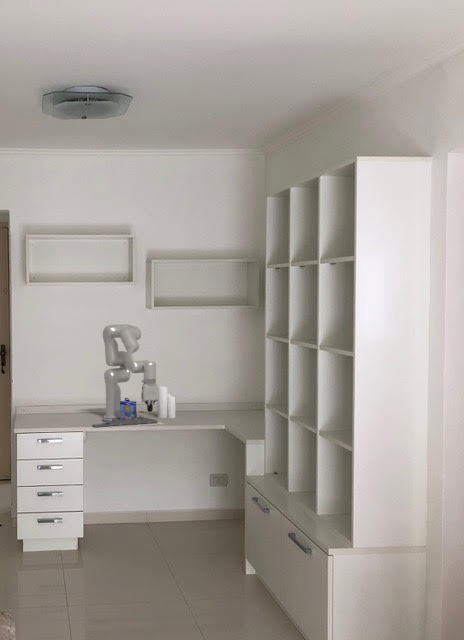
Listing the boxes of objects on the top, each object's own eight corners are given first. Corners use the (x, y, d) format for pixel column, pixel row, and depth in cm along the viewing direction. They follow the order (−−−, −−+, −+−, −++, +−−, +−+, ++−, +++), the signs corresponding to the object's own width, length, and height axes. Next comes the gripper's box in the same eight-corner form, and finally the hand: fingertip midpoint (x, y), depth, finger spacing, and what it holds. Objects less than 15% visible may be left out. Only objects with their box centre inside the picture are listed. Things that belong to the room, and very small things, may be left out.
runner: (104, 425, 576) (104, 424, 576) (157, 421, 591) (157, 421, 591) (110, 428, 565) (110, 427, 565) (165, 424, 580) (165, 423, 580)
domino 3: (129, 425, 574) (114, 422, 570) (126, 424, 578) (111, 420, 574) (130, 422, 574) (115, 419, 570) (127, 421, 579) (112, 418, 574)
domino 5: (148, 424, 579) (133, 420, 575) (145, 422, 584) (130, 419, 579) (149, 421, 579) (134, 418, 575) (146, 420, 584) (131, 417, 580)
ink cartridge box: (119, 420, 598) (119, 397, 598) (125, 419, 603) (125, 396, 602) (130, 421, 592) (130, 398, 592) (136, 420, 596) (136, 397, 596)
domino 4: (139, 424, 577) (124, 421, 572) (136, 423, 581) (121, 420, 577) (139, 422, 577) (124, 418, 572) (136, 421, 581) (121, 417, 577)
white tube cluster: (157, 418, 605) (157, 387, 604) (157, 417, 612) (157, 386, 611) (175, 418, 606) (175, 387, 605) (175, 416, 613) (175, 386, 612)
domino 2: (119, 426, 571) (104, 422, 567) (116, 424, 576) (101, 421, 571) (120, 423, 571) (105, 419, 567) (117, 422, 576) (102, 418, 572)
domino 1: (111, 426, 569) (95, 428, 565) (108, 425, 573) (92, 427, 569) (110, 423, 569) (94, 425, 564) (108, 422, 573) (92, 424, 569)
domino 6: (157, 423, 582) (142, 419, 578) (154, 422, 586) (139, 418, 582) (158, 420, 582) (143, 417, 578) (155, 419, 586) (140, 416, 582)
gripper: (140, 382, 575) (140, 412, 576) (163, 381, 581) (163, 411, 582) (136, 381, 582) (136, 411, 582) (158, 380, 588) (159, 410, 589)
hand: (150, 411), depth 582 cm, fingers closed
